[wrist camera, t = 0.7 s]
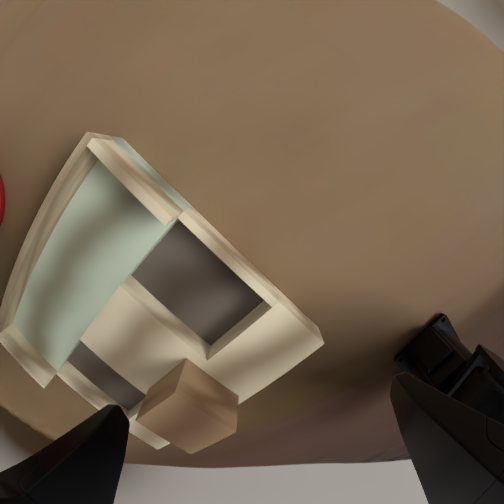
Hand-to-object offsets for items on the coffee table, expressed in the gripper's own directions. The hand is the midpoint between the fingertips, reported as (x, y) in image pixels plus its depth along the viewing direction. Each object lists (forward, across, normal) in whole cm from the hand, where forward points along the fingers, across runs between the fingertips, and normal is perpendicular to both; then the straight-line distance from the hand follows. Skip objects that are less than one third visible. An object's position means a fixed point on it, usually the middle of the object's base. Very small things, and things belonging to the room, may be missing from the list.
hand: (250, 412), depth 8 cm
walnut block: (+11, +7, +9) cm, 16 cm away
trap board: (+14, +11, +3) cm, 18 cm away
